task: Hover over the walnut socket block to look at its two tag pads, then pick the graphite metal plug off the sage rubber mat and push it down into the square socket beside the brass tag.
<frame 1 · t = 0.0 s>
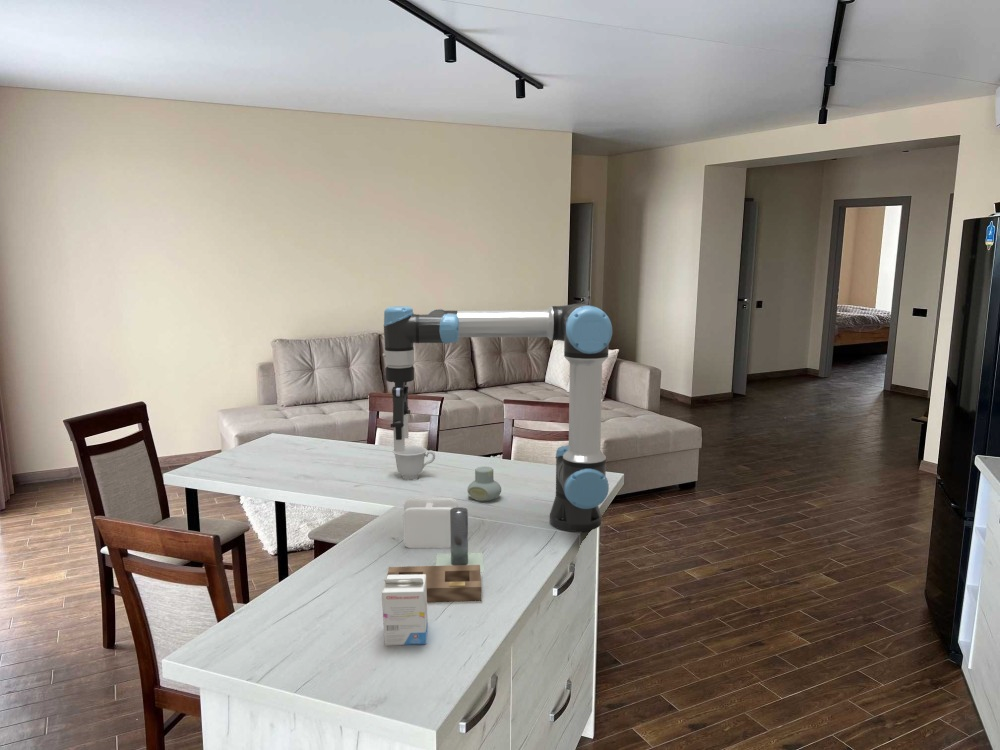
hand: (401, 444, 196), 28 cm above the table, fingers open, 13 cm apart
mat: (459, 565, 187), on the table
air freshener: (484, 499, 238), on the table
socket block: (434, 590, 173), on the table
ink box: (406, 635, 153), on the table
teacup: (414, 478, 260), on the table
plug: (459, 562, 187), point 1 cm above the table, touching mat
cable organizer: (430, 543, 202), on the table
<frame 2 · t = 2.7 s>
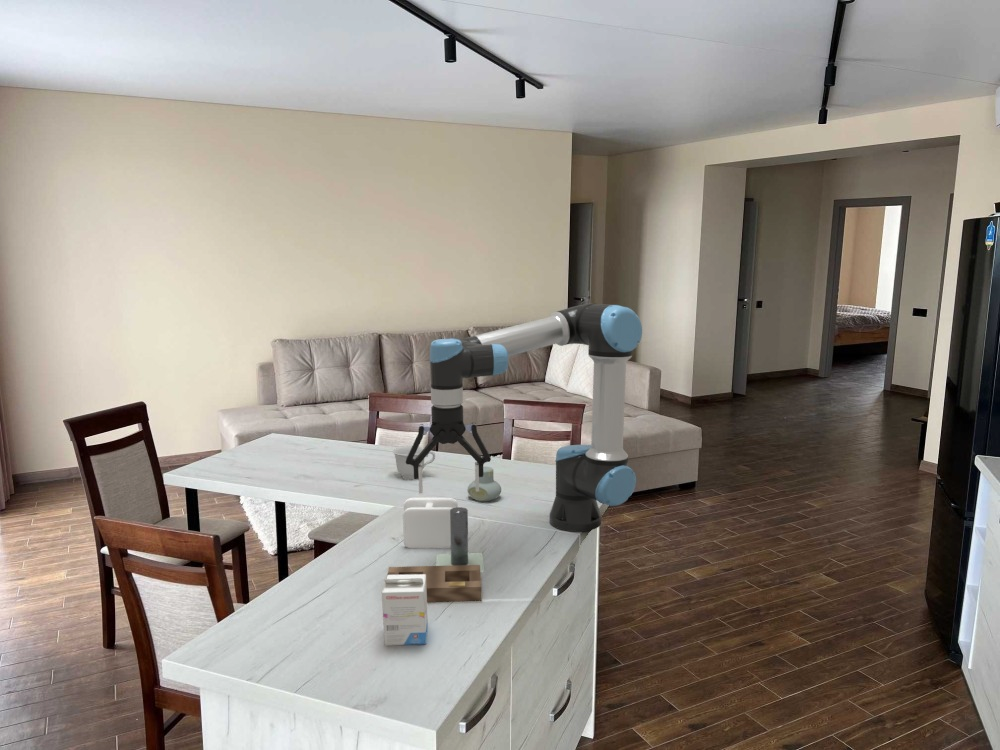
hand: (449, 490, 178), 22 cm above the table, fingers open, 13 cm apart
nothing on the table moved.
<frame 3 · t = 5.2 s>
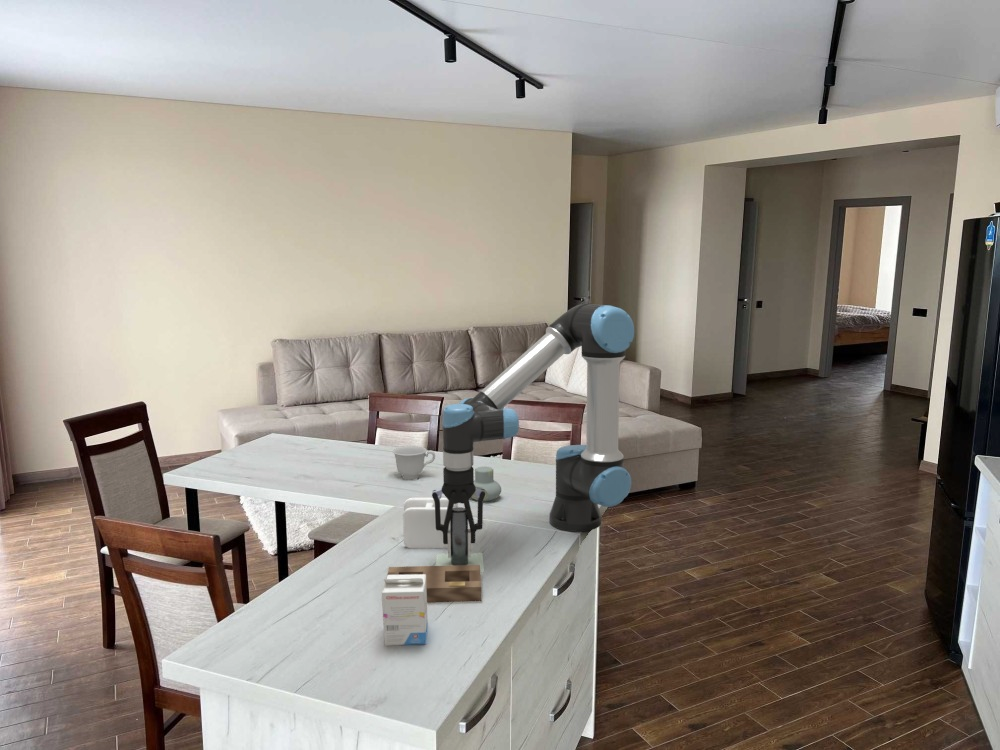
hand: (459, 555, 187), 3 cm above the table, fingers closed on plug, 4 cm apart
plug: (459, 562, 187), point 1 cm above the table, touching gripper, mat
everything else where it was.
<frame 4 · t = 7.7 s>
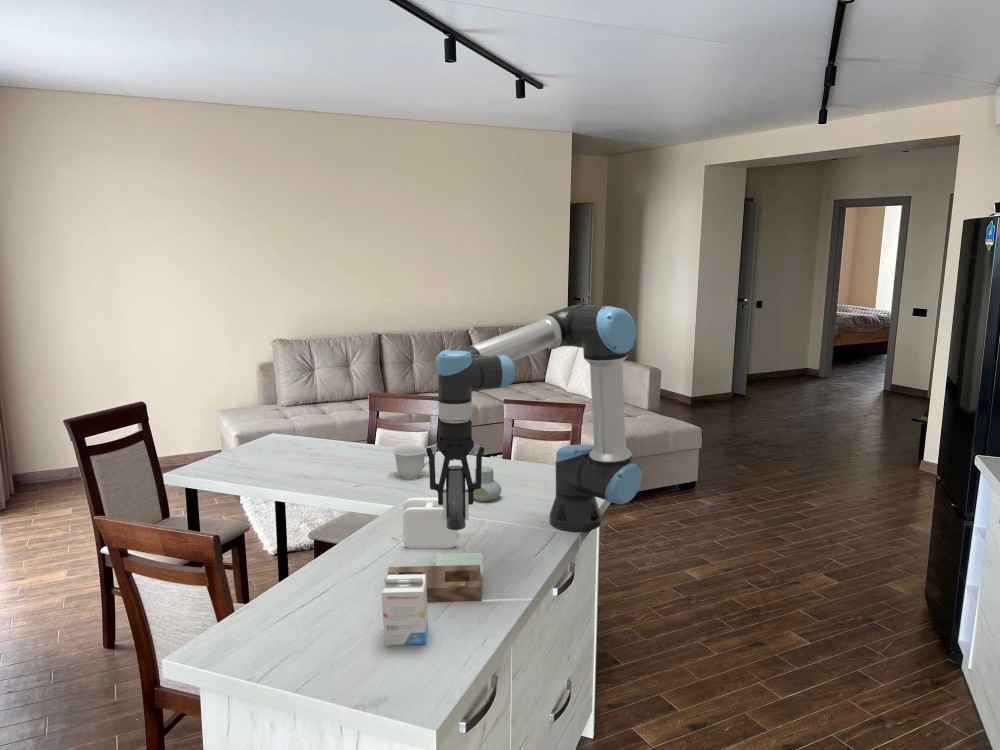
hand: (455, 517, 170), 18 cm above the table, fingers closed on plug, 4 cm apart
plug: (456, 526, 171), point 16 cm above the table, touching gripper
everything else where it was.
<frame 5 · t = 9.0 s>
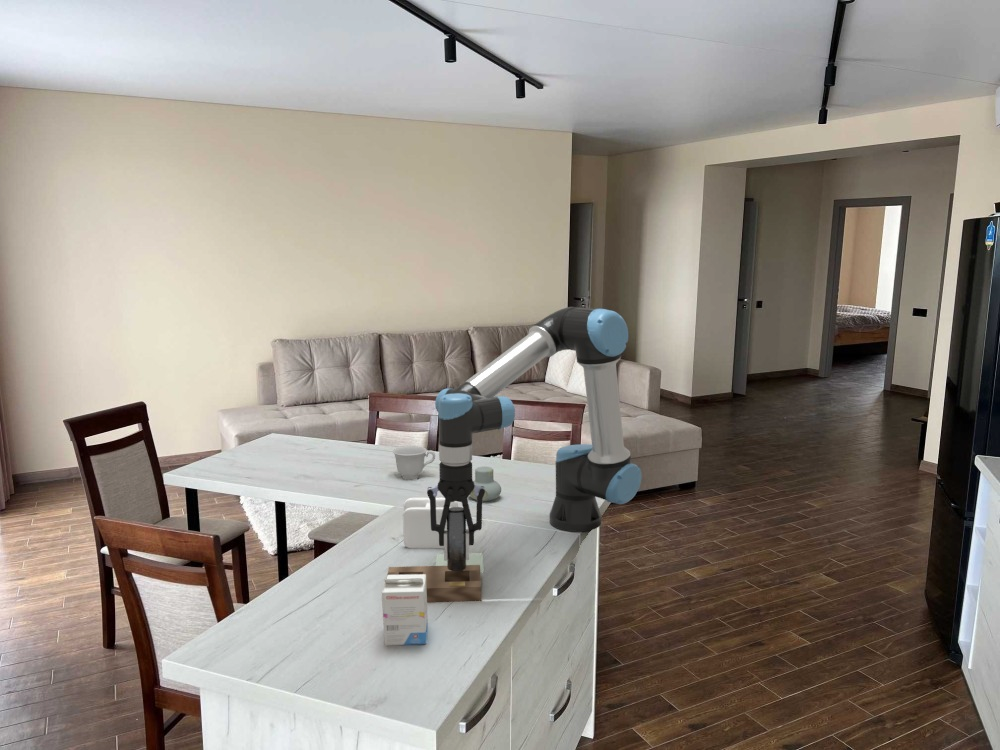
hand: (456, 557, 172), 8 cm above the table, fingers closed on plug, 4 cm apart
plug: (456, 567, 172), point 6 cm above the table, touching gripper
everything else where it was.
when the fingers open (4 cm above the table, at t = 10.0 s): plug drops 2 cm, resting in socket block.
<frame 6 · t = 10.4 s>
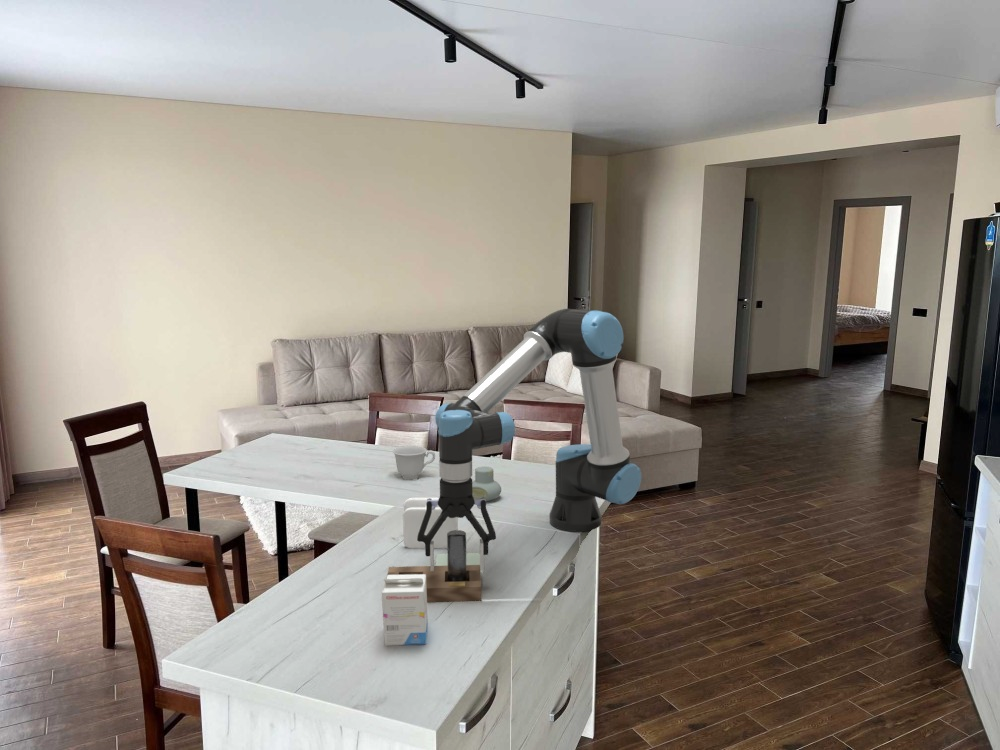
hand: (457, 568, 172), 5 cm above the table, fingers open, 11 cm apart
plug: (457, 590, 173), resting in socket block
everything else where it was.
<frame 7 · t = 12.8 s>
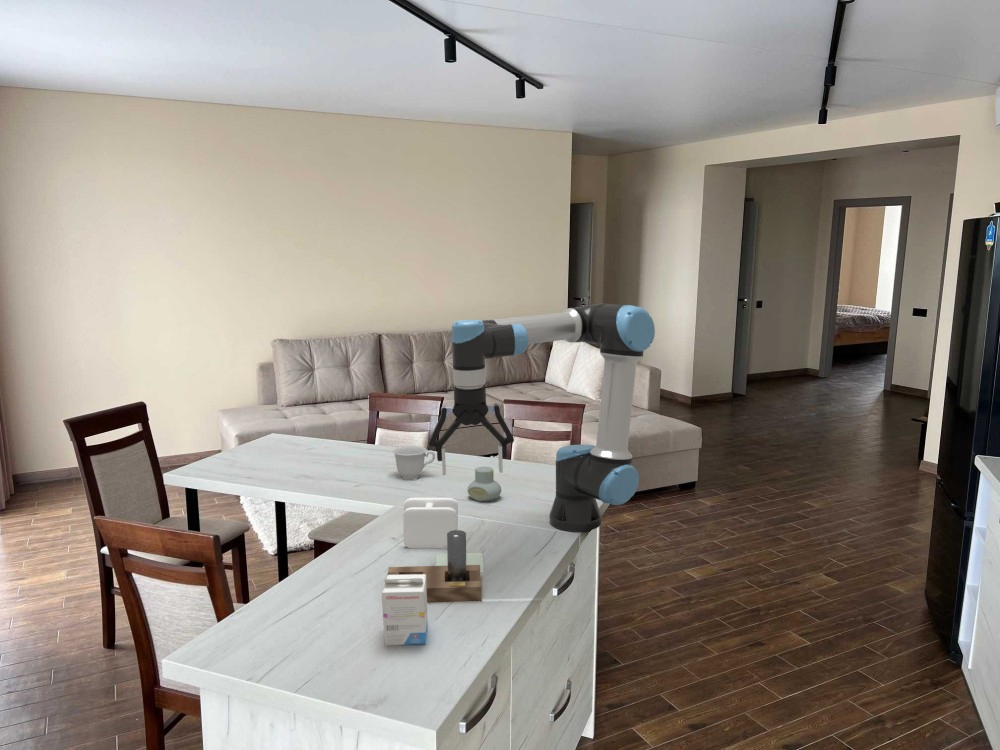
hand: (472, 472, 177), 26 cm above the table, fingers open, 13 cm apart
nothing on the table moved.
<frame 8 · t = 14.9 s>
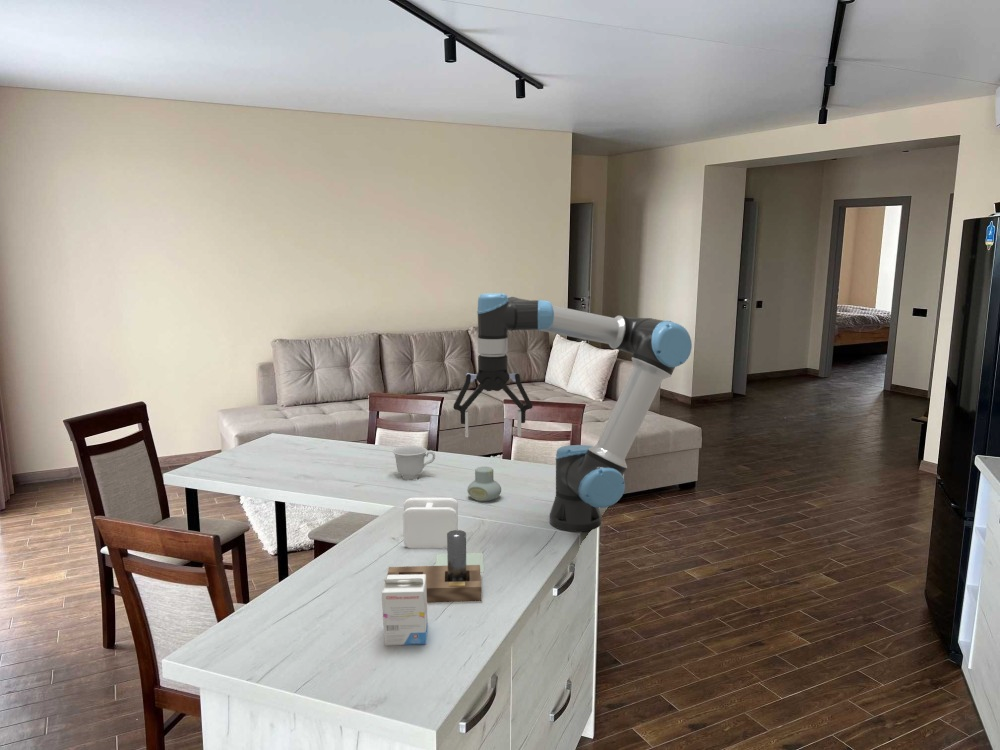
hand: (493, 435, 190), 32 cm above the table, fingers open, 13 cm apart
nothing on the table moved.
at the end: plug 0.0 cm from the target spot on the socket block, point 0.0 cm above the socket block's base; plug tilted 0°; the gripper is holding nothing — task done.
